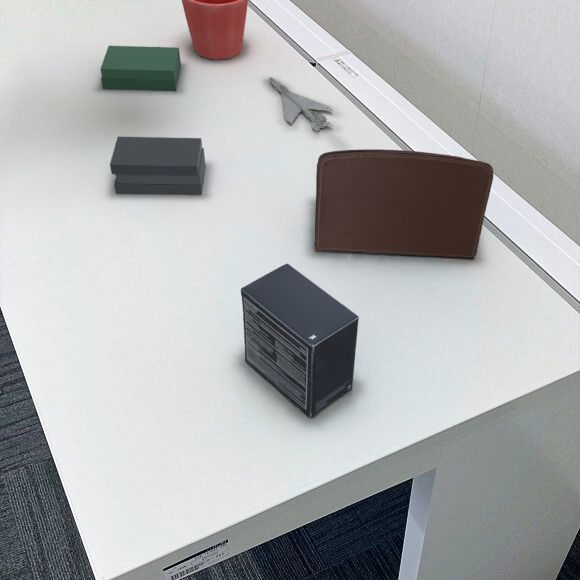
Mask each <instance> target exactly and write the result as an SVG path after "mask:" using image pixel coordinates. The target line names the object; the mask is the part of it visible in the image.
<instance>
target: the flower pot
mask: <svg viewBox="0 0 580 580" xmlns="http://www.w3.org/2000/svg"><path fill="white" fill-rule="evenodd" d="M181 3H182V8H183V11H184V16H185V19H186V24H187V29H188V32H189V35H190V39H191V42H192V45H193V49H194V51H195V52H196V53H197V55H199V56H201V57H203V58H206V59H209V60H216V61H217V60H229V59H232V58H234V57H236V56H238V55H239V54H240V53H242V52H241V51H242V50H243V49H242V48H243V42H244V36H245V29H246V28H245V27H246V22H247V21H246V20H247V13H248V4H249V0H181Z"/></svg>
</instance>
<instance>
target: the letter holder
mask: <svg viewBox="0 0 580 580" xmlns="http://www.w3.org/2000/svg"><path fill="white" fill-rule="evenodd" d="M315 172H316V175H315V177H316V179H315V180H316V181H315V182H316V183H315V185H316V186H315V187H316V188H315V213H314V216H315V217H314V243H313V246H314V249H315V251H316V252H339V253H361V254H362V253H365V254H382V255H383V254H385V255H399V256H419V257H420V256H422V257H437V258H458V259H459V258H460V259H472V260H474V259H475V258H476V256H477V253H478V248H479V245H480V243H479V242H480V238H481V234H482V229H483V224H484V220H485V216H486V215H485V214H486V210H487V206H488V202H489V198H490V194H491V189H492V185H493V181H494V167H493V166H492V165H491V164H490V163H488V162H485V161H483V160H476V159H472V158H465V157H462V156H458V155H457V156H456V155H450V154H444V153H435V152H427V151H426V152H425V151H415V150H414V151H413V150H402V149H401V150H399V149H382V148H381V149H376V148H375V149H372V148H371V149H367V148H365V149H362V148H361V149H343V150H342V149H341V150H332V151H325V152H324V153H322V154H320V155H319V156H318V158H317V163H316V171H315Z"/></svg>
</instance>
